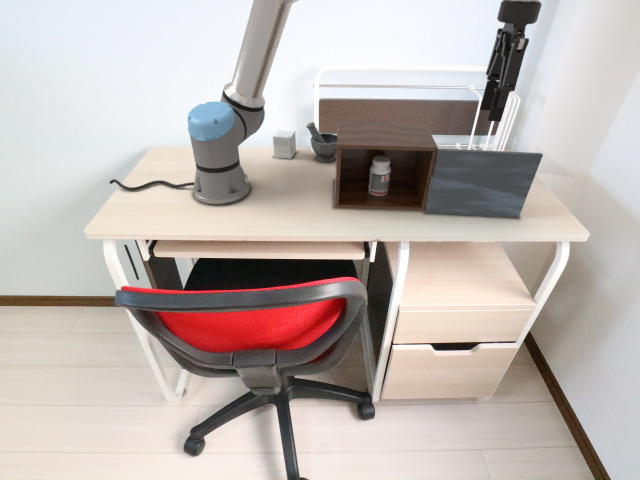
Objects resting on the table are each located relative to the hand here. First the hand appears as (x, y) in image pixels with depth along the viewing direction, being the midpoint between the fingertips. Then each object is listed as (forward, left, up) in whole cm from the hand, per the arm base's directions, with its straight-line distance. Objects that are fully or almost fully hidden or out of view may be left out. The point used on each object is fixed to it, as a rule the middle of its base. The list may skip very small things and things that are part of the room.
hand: (489, 114), depth 90 cm
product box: (-52, +30, -25) cm, 65 cm away
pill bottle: (-23, +5, -24) cm, 34 cm away
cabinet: (-23, +5, -25) cm, 35 cm away
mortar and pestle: (-39, +28, -25) cm, 54 cm away
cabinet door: (+1, -2, -25) cm, 25 cm away
